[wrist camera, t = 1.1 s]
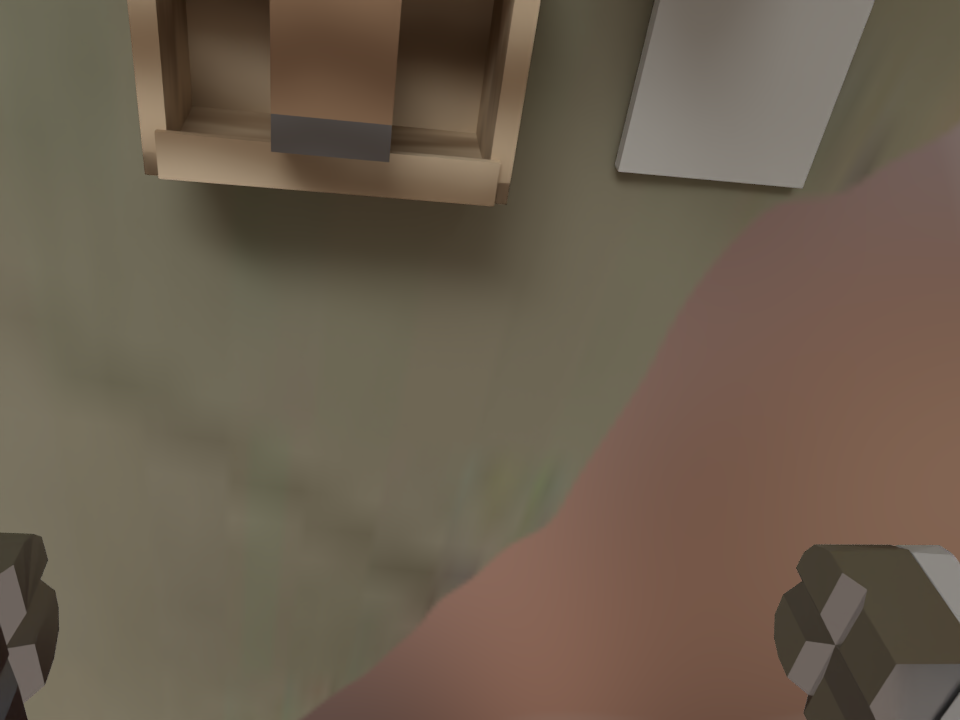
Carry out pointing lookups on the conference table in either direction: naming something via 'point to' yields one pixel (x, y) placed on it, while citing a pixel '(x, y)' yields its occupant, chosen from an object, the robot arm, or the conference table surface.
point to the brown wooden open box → (408, 175)
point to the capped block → (333, 77)
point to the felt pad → (738, 88)
